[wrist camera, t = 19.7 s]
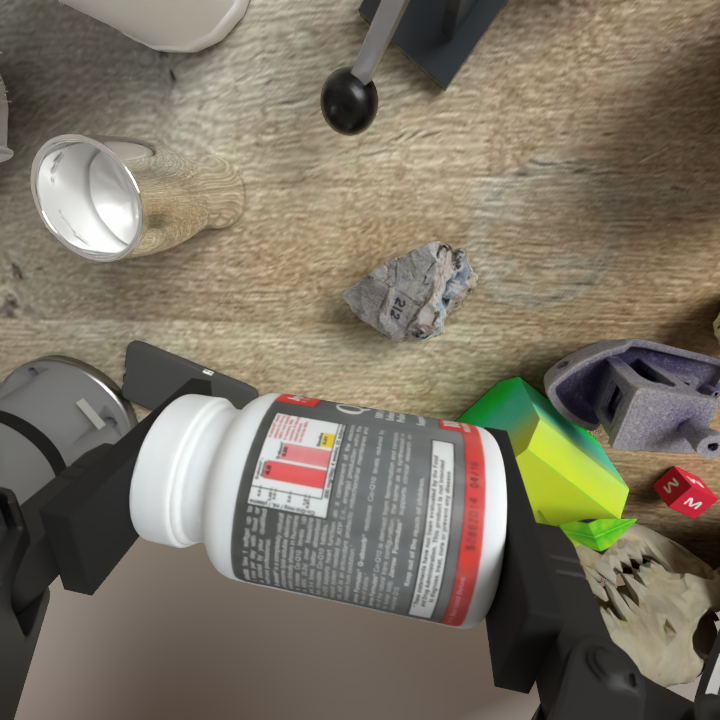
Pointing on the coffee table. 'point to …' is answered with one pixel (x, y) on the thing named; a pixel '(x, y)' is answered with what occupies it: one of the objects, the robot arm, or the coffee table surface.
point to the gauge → (711, 672)
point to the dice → (684, 492)
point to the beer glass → (130, 195)
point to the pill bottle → (330, 502)
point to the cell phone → (173, 378)
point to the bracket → (439, 32)
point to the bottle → (167, 20)
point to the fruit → (717, 327)
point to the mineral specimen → (414, 292)
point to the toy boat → (640, 395)
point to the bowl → (4, 123)
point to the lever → (361, 76)
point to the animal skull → (656, 603)
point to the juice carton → (557, 465)
